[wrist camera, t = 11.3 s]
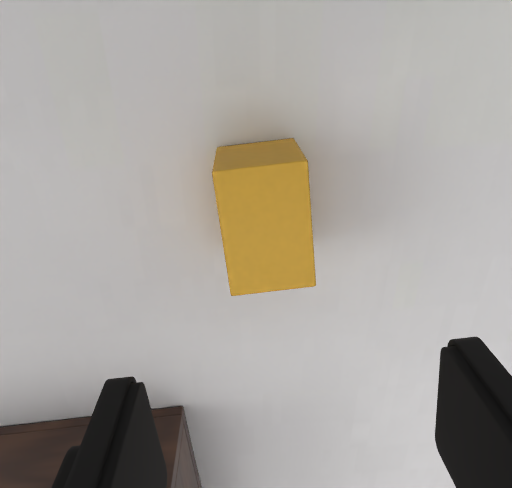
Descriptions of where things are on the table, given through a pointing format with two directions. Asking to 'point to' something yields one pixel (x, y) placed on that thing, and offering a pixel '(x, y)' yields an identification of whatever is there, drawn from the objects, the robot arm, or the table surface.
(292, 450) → the table surface
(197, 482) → the cabinet
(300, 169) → the yellow box
